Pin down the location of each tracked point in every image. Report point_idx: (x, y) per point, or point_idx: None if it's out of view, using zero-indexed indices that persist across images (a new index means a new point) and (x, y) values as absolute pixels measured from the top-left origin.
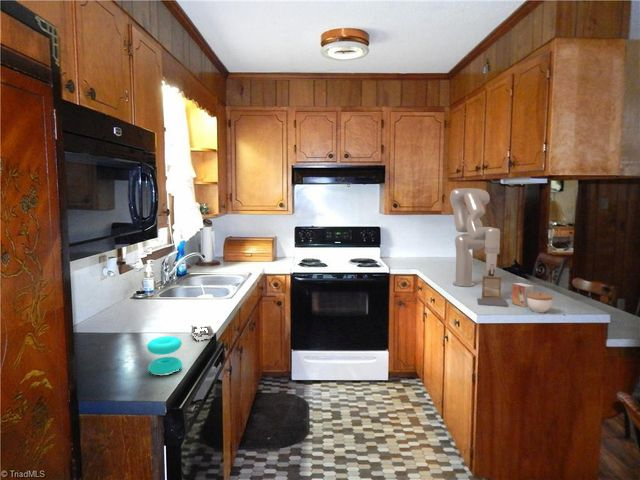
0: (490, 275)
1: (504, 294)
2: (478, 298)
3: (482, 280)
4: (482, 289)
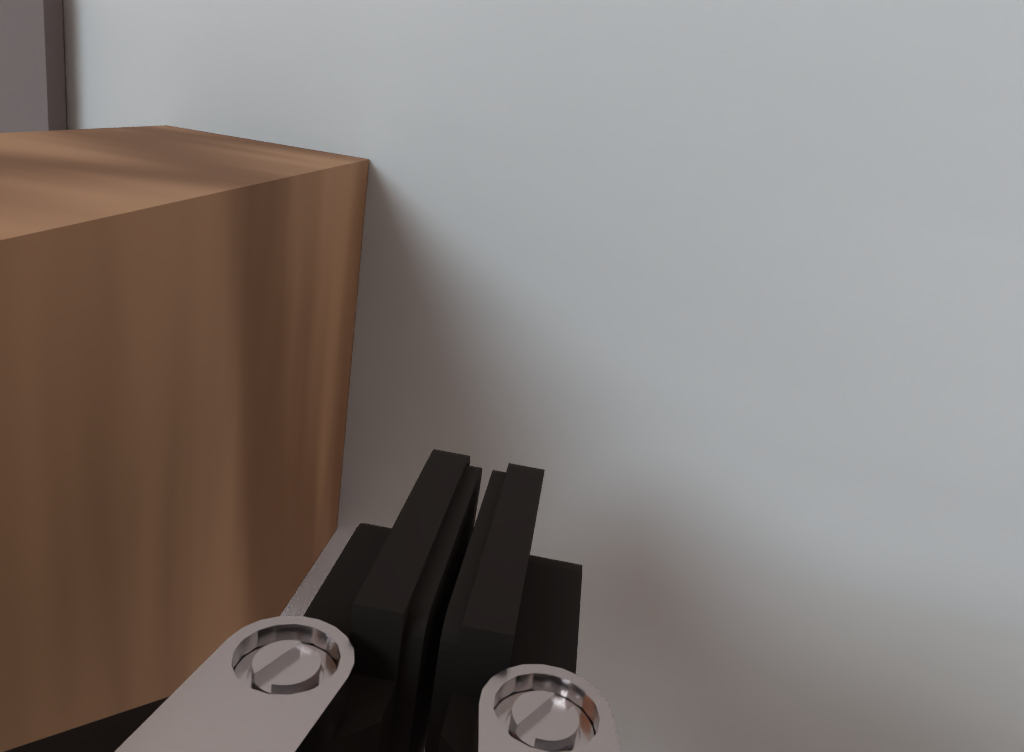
0: (109, 745)
1: (732, 721)
2: (35, 6)
3: (19, 201)
4: (12, 136)
